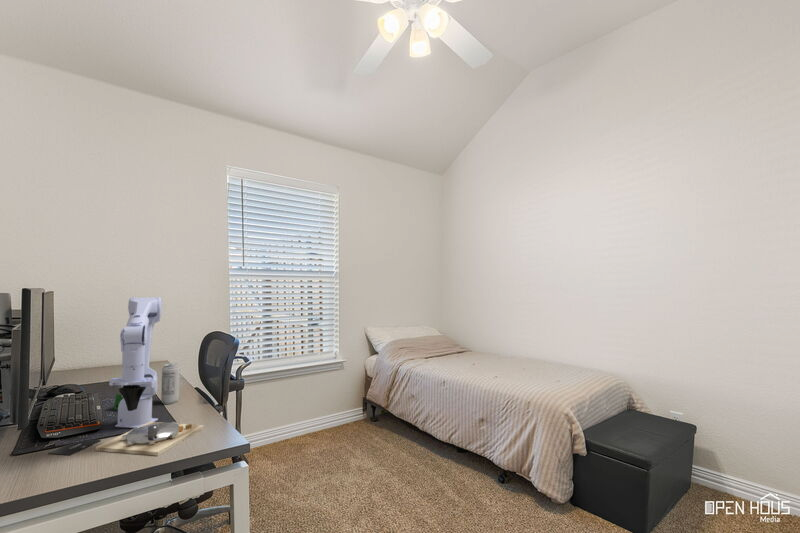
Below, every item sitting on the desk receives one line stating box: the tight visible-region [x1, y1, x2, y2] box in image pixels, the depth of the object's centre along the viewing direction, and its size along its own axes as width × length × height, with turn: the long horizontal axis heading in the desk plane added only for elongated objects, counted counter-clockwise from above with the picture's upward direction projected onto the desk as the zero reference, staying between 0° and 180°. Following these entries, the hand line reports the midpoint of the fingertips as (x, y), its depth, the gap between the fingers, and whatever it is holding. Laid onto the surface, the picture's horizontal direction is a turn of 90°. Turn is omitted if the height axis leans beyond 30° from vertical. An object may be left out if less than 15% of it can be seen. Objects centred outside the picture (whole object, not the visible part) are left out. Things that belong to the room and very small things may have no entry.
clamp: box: [113, 393, 154, 411], centre depth 148 cm, size 12×6×9 cm, turn 77°
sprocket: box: [122, 421, 183, 445], centre depth 121 cm, size 16×16×4 cm
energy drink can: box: [160, 362, 180, 405], centre depth 156 cm, size 6×6×15 cm
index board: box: [95, 421, 205, 457], centre depth 121 cm, size 20×20×2 cm
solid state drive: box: [48, 438, 102, 456], centre depth 115 cm, size 7×10×1 cm
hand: (132, 409), depth 120 cm, fingers closed
